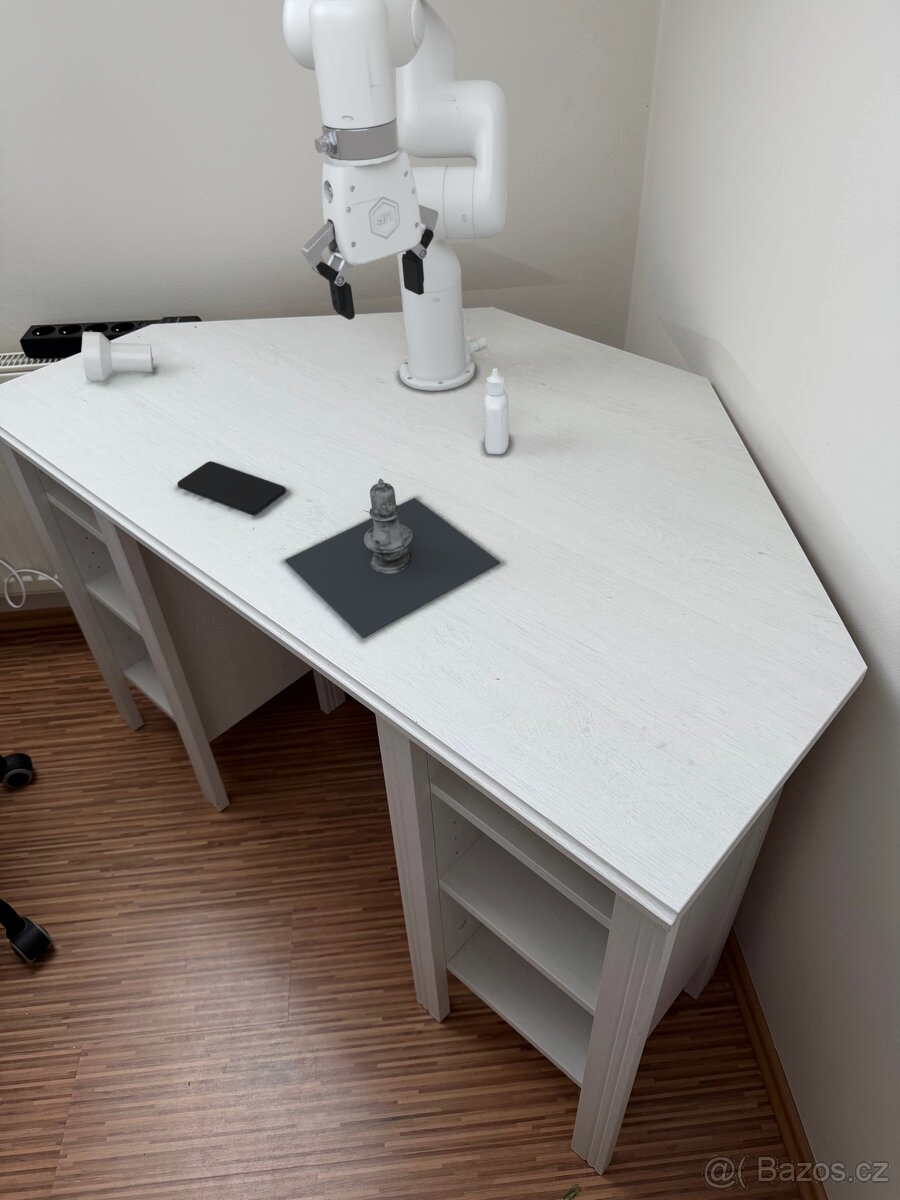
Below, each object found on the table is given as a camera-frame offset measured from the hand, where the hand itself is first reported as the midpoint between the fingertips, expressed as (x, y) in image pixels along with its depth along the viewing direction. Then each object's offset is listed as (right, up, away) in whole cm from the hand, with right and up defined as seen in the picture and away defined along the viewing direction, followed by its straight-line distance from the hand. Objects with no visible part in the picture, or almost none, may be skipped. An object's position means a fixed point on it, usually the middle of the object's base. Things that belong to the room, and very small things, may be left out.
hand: (380, 303), depth 97 cm
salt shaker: (+1, -30, +6) cm, 30 cm away
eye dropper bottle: (+15, -12, +25) cm, 31 cm away
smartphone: (-22, -19, +20) cm, 36 cm away
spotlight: (-50, +4, +49) cm, 70 cm away
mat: (+1, -30, +6) cm, 31 cm away
